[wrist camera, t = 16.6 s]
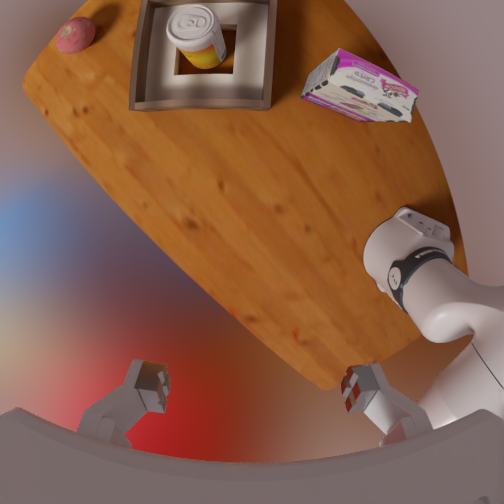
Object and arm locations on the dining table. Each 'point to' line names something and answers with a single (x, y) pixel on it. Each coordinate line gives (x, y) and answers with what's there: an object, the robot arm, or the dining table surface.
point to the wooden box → (204, 85)
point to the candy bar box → (360, 90)
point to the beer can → (197, 35)
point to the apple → (75, 35)
